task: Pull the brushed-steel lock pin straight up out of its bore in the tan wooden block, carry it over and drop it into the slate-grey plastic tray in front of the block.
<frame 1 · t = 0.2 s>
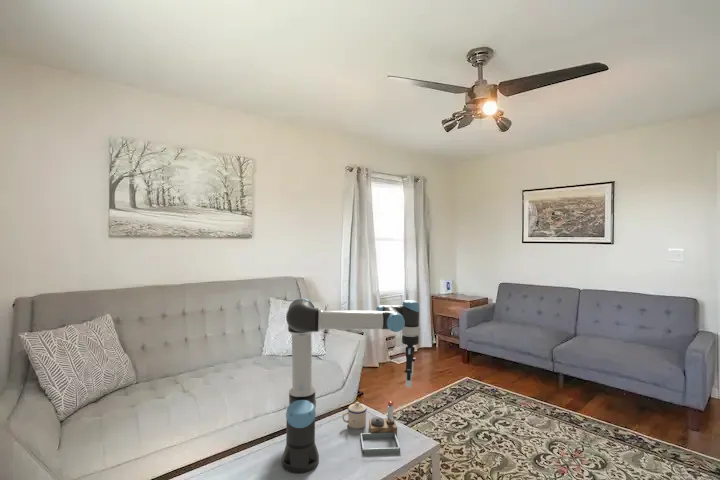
hand: (409, 381, 179), 27 cm above the table, fingers open, 13 cm apart
teacup with lid: (354, 426, 191), on the table
tan wooden block: (382, 433, 185), on the table
lock pin: (390, 431, 185), point 1 cm above the table, touching tan wooden block
tray: (379, 447, 173), on the table
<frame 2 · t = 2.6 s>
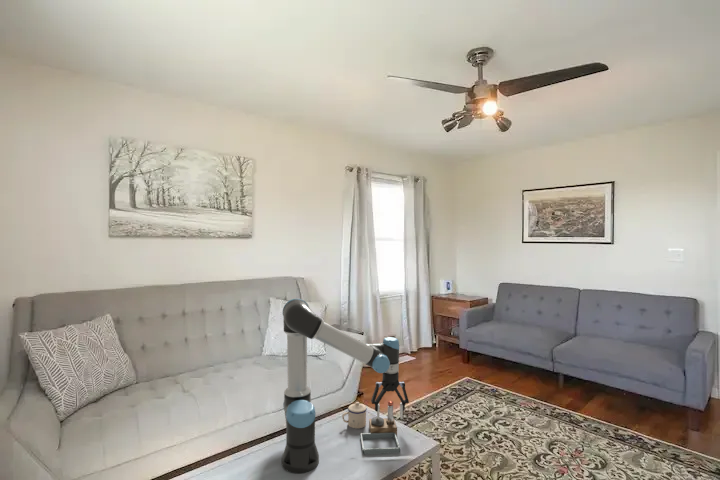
hand: (389, 417, 185), 7 cm above the table, fingers open, 10 cm apart
nothing on the table moved.
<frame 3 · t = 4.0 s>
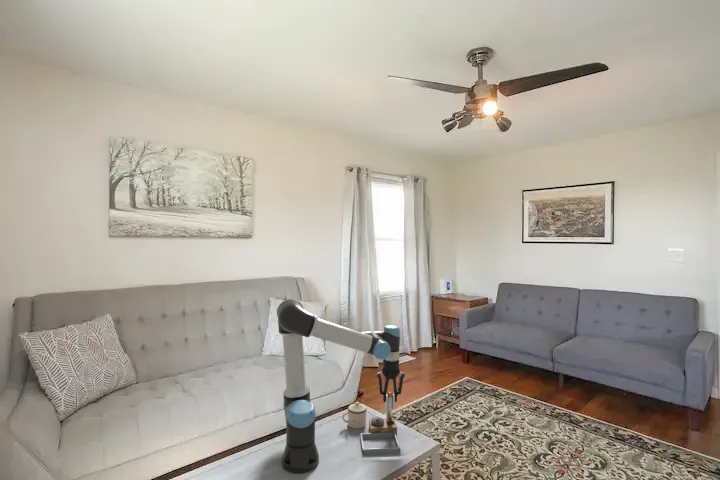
hand: (389, 408, 185), 12 cm above the table, fingers closed on lock pin, 3 cm apart
lock pin: (389, 422, 185), point 5 cm above the table, touching gripper
everything else where it was.
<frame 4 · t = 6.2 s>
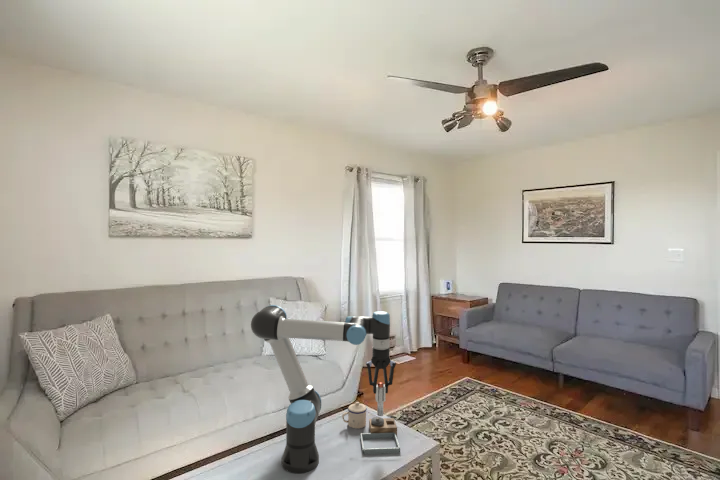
hand: (380, 400, 172), 21 cm above the table, fingers closed on lock pin, 3 cm apart
lock pin: (380, 414, 173), point 15 cm above the table, touching gripper
everything else where it was.
when the fingers open (7 cm above the table, at t = 8.3 s): lock pin stays where it is, resting on tray.
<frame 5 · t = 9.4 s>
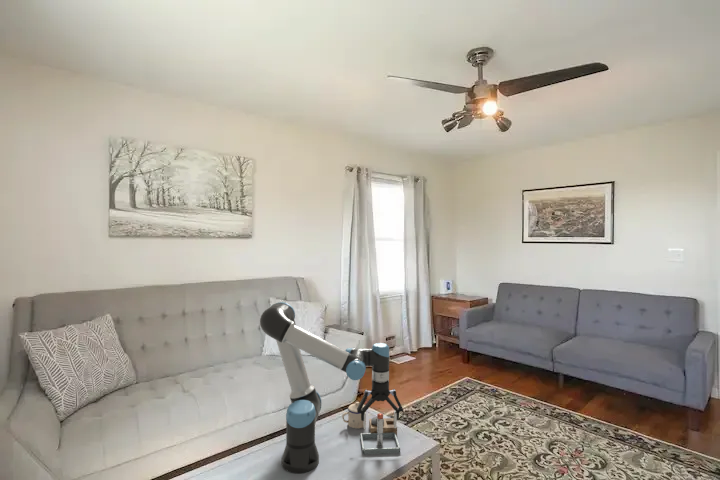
hand: (379, 427, 173), 9 cm above the table, fingers open, 13 cm apart
lock pin: (379, 445, 173), point 1 cm above the table, touching tray
everything else where it was.
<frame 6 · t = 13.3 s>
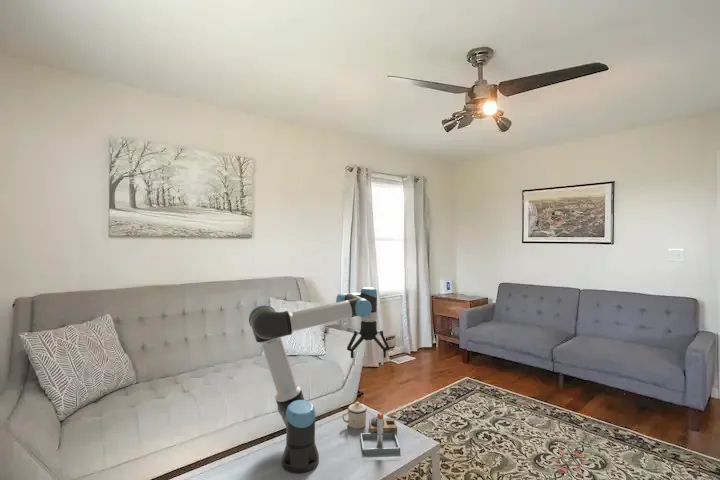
hand: (368, 364, 187), 32 cm above the table, fingers open, 13 cm apart
nothing on the table moved.
at the end: lock pin inside the target area on the tray (0.1 cm from its centre), point 0.6 cm above the tray's base; the gripper is holding nothing; lock pin moved 13.2 cm from its start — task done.
